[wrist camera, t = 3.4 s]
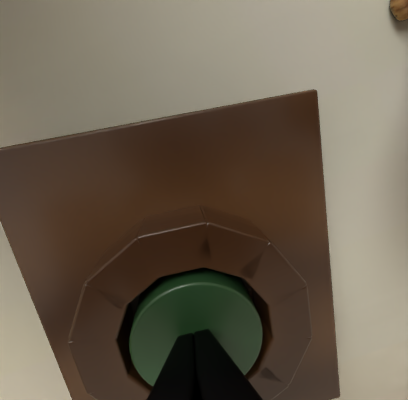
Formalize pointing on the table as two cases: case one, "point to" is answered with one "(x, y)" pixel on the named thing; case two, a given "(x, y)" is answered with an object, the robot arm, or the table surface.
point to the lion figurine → (399, 9)
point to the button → (194, 318)
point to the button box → (178, 237)
